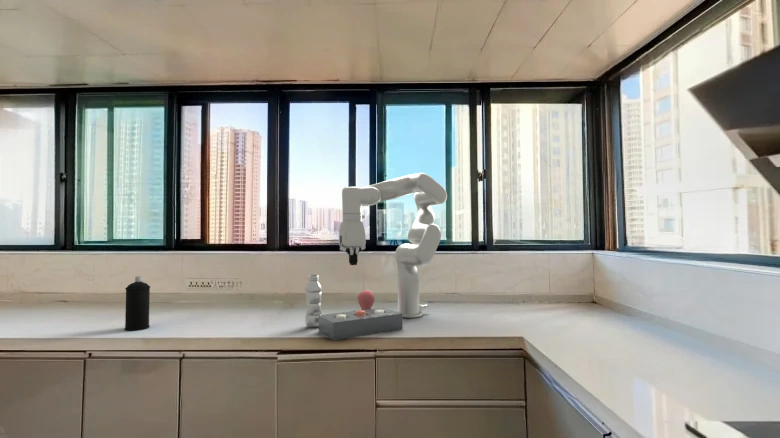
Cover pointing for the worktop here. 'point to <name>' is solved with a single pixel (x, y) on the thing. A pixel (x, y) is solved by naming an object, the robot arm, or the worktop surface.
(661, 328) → the worktop surface
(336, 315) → the cream plug
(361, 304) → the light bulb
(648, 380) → the worktop surface
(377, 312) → the cream plug
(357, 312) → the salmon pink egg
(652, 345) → the worktop surface
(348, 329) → the panel
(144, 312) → the aerosol can
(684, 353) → the worktop surface
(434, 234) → the robot arm
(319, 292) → the plastic bottle
